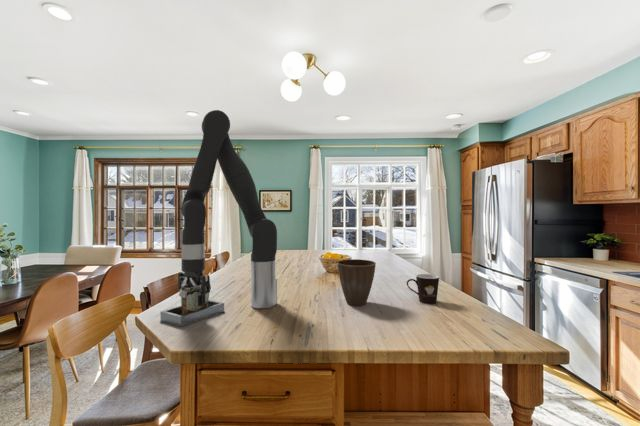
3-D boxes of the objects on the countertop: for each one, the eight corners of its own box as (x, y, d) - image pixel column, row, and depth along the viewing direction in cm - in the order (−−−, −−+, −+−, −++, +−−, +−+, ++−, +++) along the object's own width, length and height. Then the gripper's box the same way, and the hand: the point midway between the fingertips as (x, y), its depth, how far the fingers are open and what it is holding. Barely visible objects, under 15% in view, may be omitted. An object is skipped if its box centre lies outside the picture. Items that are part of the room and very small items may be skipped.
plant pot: (383, 303, 115) (383, 262, 115) (360, 312, 105) (359, 267, 105) (353, 295, 126) (353, 258, 126) (329, 303, 115) (329, 262, 115)
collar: (204, 306, 112) (204, 298, 112) (224, 311, 107) (224, 303, 107) (160, 320, 98) (160, 311, 98) (181, 326, 92) (181, 317, 92)
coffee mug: (441, 300, 118) (441, 275, 118) (437, 306, 111) (436, 279, 111) (412, 296, 124) (411, 272, 124) (406, 301, 117) (405, 276, 117)
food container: (196, 307, 109) (197, 281, 109) (209, 310, 107) (211, 283, 107) (169, 318, 98) (170, 288, 98) (183, 322, 96) (185, 291, 96)
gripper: (170, 256, 103) (171, 303, 103) (197, 259, 95) (197, 310, 95) (190, 254, 109) (190, 298, 109) (216, 257, 102) (216, 304, 102)
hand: (193, 303), depth 102 cm, fingers open, 8 cm apart
